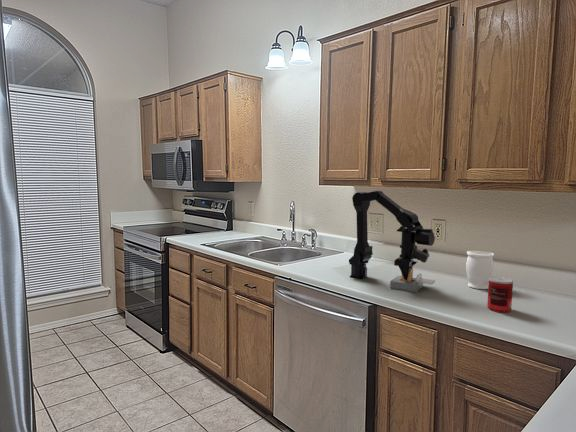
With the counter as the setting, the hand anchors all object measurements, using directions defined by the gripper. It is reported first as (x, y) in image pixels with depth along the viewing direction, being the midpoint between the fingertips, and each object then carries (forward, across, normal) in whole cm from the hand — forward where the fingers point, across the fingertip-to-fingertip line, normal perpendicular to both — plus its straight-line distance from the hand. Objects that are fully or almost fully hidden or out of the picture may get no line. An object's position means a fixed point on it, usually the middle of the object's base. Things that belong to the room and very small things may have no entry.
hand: (406, 278), depth 172 cm
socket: (+4, 0, 0) cm, 4 cm away
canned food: (+4, -11, -36) cm, 38 cm away
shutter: (0, 0, -8) cm, 8 cm away
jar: (+4, +17, -26) cm, 31 cm away
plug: (+2, 0, 0) cm, 2 cm away
